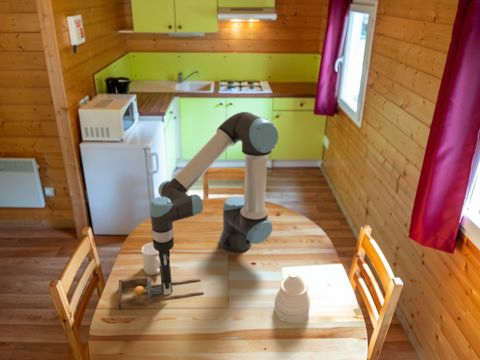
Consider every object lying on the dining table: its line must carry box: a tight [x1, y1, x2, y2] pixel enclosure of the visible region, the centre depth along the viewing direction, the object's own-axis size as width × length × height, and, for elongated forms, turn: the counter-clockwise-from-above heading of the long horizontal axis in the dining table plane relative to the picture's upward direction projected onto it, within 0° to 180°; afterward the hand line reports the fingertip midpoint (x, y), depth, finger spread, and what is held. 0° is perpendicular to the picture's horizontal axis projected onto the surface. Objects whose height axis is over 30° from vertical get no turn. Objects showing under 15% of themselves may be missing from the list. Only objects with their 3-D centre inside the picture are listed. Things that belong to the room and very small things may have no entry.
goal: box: [117, 276, 150, 310], centre depth 153 cm, size 11×12×4 cm
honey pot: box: [273, 271, 311, 324], centre depth 145 cm, size 13×13×18 cm
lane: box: [149, 278, 204, 303], centre depth 157 cm, size 21×9×1 cm, turn 103°
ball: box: [133, 286, 145, 297], centre depth 154 cm, size 4×4×4 cm
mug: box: [141, 242, 161, 276], centre depth 166 cm, size 9×12×11 cm
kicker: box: [147, 263, 173, 298], centre depth 153 cm, size 9×6×12 cm, turn 103°
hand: (166, 286), depth 155 cm, fingers open, 8 cm apart
